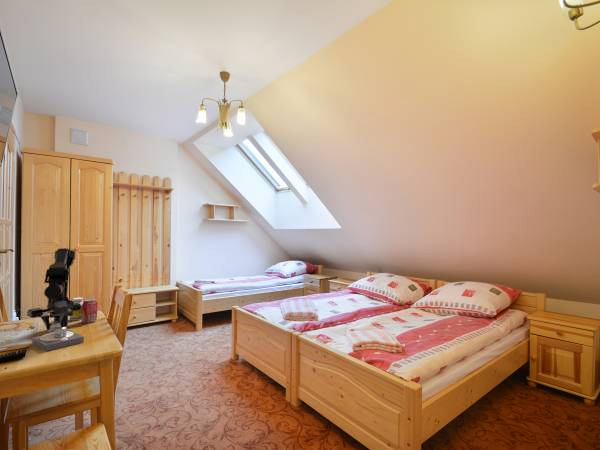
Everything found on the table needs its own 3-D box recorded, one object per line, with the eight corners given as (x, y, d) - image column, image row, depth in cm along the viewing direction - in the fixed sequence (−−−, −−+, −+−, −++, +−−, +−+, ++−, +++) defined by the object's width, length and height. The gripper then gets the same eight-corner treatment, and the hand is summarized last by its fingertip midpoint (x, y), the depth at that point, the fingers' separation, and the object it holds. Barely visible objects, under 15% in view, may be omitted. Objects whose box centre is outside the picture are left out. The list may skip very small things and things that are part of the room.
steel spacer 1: (50, 329, 142) (50, 321, 142) (61, 329, 144) (62, 320, 144) (46, 332, 138) (47, 323, 138) (58, 332, 140) (59, 323, 140)
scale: (31, 343, 136) (32, 336, 136) (69, 335, 148) (69, 329, 148) (45, 351, 128) (45, 344, 128) (83, 342, 140) (83, 335, 140)
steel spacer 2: (52, 337, 137) (52, 328, 137) (63, 334, 140) (64, 325, 140) (56, 339, 134) (56, 330, 134) (68, 336, 138) (68, 327, 138)
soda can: (86, 319, 174) (87, 298, 175) (99, 319, 175) (100, 298, 175) (78, 323, 167) (79, 300, 168) (92, 323, 168) (93, 301, 168)
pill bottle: (76, 321, 171) (77, 300, 171) (66, 320, 172) (67, 299, 173) (86, 318, 177) (87, 297, 178) (77, 317, 179) (78, 296, 179)
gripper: (37, 300, 129) (35, 337, 129) (87, 293, 145) (85, 327, 144) (27, 296, 135) (25, 332, 135) (76, 290, 151) (75, 322, 150)
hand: (54, 328), depth 141 cm, fingers closed on steel spacer 1, 4 cm apart
